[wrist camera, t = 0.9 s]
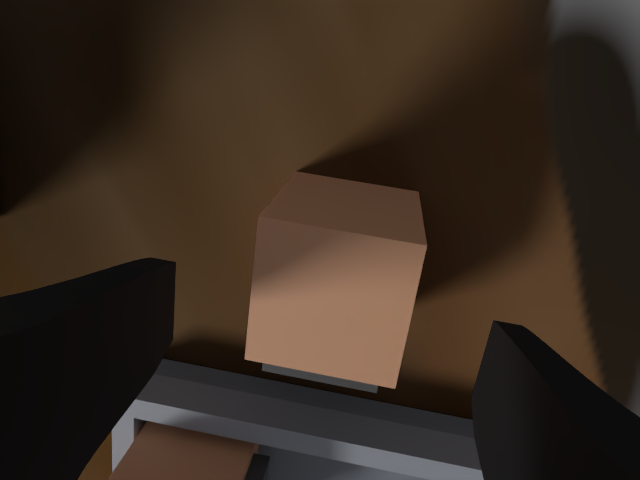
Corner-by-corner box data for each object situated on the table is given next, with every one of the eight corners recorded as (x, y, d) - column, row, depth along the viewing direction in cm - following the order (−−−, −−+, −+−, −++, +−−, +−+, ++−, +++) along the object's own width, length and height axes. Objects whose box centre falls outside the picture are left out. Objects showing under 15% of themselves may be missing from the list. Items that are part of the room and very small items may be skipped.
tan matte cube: (296, 171, 17) (258, 216, 12) (418, 191, 17) (427, 245, 12) (280, 296, 19) (242, 378, 14) (392, 317, 18) (391, 407, 14)
